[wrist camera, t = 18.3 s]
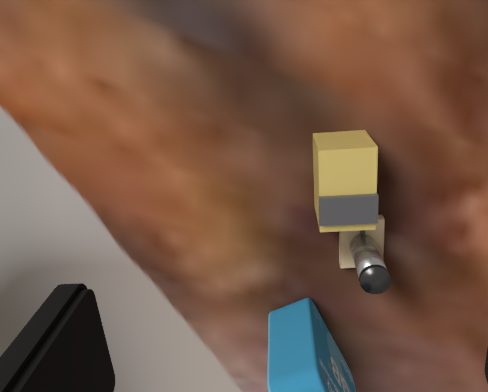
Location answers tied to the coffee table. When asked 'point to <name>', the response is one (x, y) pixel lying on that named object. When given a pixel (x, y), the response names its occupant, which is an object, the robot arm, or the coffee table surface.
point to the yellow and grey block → (345, 181)
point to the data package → (304, 352)
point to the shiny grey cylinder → (369, 264)
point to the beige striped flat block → (347, 236)
